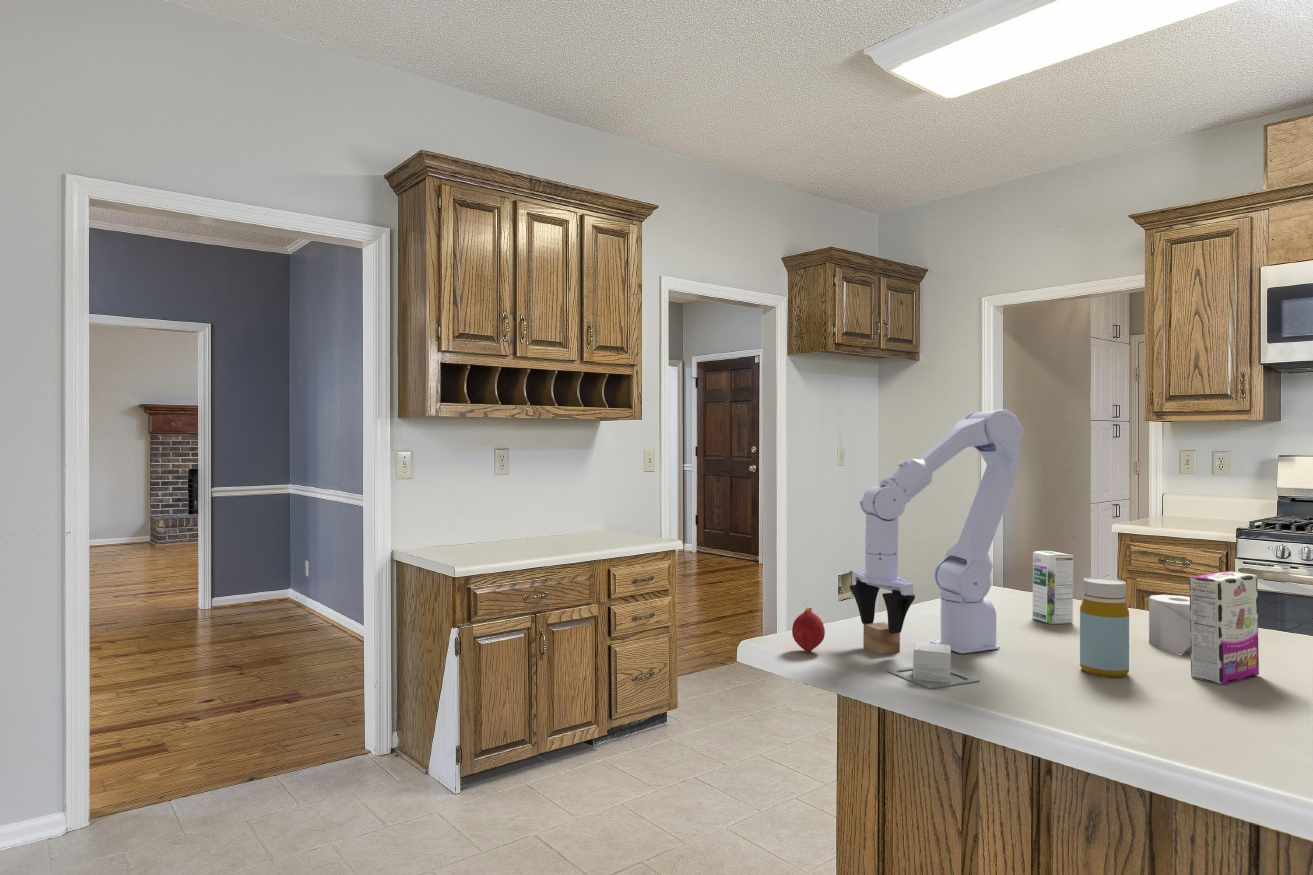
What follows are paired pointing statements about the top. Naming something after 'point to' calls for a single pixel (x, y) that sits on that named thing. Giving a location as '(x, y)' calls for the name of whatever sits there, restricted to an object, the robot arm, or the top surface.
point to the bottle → (1104, 628)
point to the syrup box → (1052, 587)
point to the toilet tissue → (1170, 623)
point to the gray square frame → (969, 680)
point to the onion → (808, 630)
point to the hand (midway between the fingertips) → (881, 627)
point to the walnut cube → (880, 639)
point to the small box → (932, 662)
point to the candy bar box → (1224, 627)
